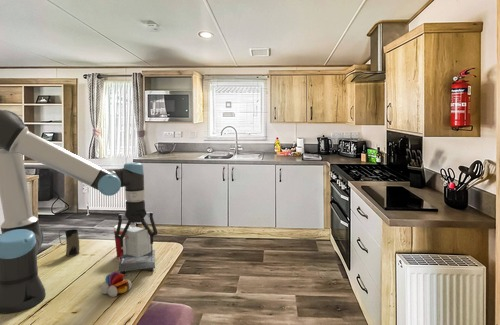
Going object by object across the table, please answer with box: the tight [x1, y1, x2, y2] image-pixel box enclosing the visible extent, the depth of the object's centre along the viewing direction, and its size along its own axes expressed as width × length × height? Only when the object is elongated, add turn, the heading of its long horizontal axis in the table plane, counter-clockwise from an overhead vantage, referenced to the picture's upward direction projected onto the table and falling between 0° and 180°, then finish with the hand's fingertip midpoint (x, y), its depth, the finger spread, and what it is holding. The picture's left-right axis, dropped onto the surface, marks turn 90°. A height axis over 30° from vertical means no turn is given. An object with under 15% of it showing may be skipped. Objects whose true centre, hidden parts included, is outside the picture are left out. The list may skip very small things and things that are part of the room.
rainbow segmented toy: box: [100, 271, 133, 298], centre depth 121 cm, size 8×10×7 cm
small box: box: [125, 226, 149, 257], centre depth 142 cm, size 8×6×10 cm
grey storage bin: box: [117, 244, 156, 275], centre depth 143 cm, size 14×14×10 cm
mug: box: [58, 228, 80, 257], centre depth 156 cm, size 8×6×12 cm
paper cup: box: [112, 223, 132, 259], centre depth 154 cm, size 8×8×14 cm
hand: (137, 252), depth 143 cm, fingers closed on small box, 9 cm apart
